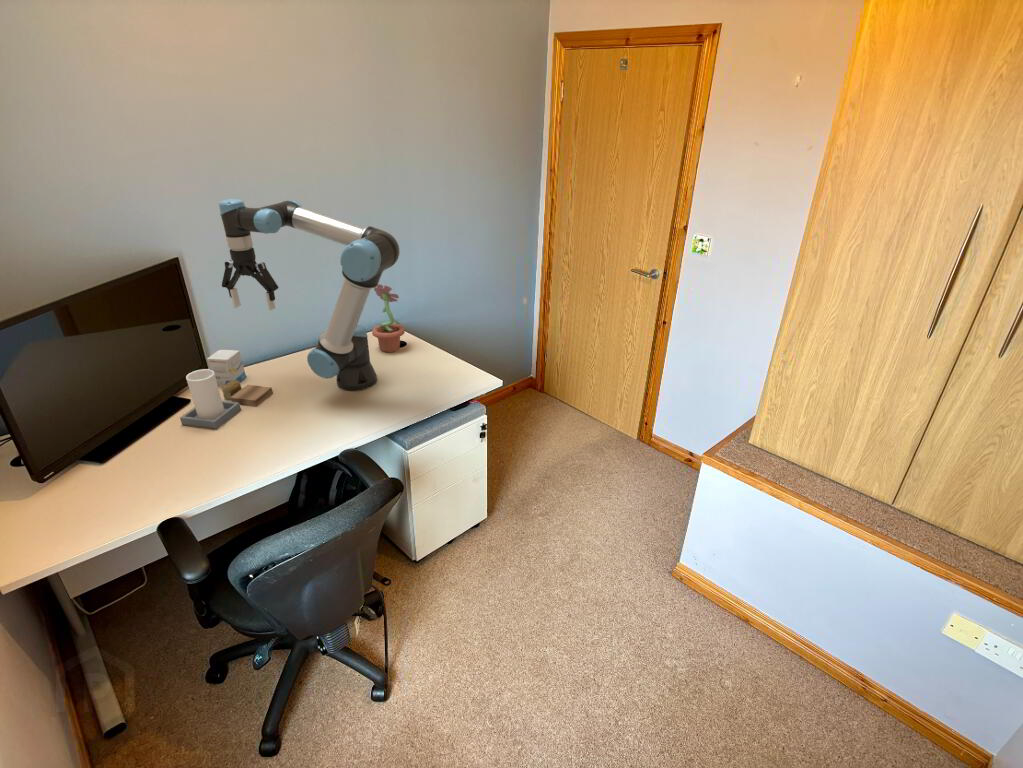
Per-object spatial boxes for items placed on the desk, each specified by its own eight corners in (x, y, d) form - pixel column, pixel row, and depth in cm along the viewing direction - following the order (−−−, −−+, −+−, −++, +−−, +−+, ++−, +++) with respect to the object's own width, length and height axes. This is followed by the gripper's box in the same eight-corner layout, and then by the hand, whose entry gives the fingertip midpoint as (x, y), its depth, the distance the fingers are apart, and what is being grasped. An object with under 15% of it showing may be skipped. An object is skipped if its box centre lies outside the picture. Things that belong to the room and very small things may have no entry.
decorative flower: (414, 346, 241) (409, 281, 227) (396, 358, 230) (389, 290, 216) (386, 340, 246) (379, 276, 232) (367, 351, 235) (359, 285, 221)
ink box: (246, 376, 213) (240, 350, 207) (235, 387, 206) (227, 359, 200) (226, 375, 214) (219, 348, 208) (213, 385, 206) (206, 358, 201)
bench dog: (242, 392, 202) (239, 380, 199) (232, 400, 197) (228, 388, 194) (235, 391, 202) (232, 379, 200) (224, 399, 197) (221, 387, 195)
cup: (230, 412, 188) (219, 371, 180) (212, 424, 181) (199, 382, 174) (212, 408, 190) (200, 367, 183) (193, 419, 184) (180, 378, 176)
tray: (241, 410, 191) (239, 402, 189) (216, 429, 179) (214, 422, 178) (208, 406, 193) (206, 398, 191) (182, 425, 182) (179, 417, 180)
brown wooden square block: (273, 394, 202) (271, 387, 200) (256, 407, 193) (255, 400, 192) (249, 391, 203) (247, 384, 202) (232, 404, 195) (230, 397, 193)
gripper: (281, 247, 183) (292, 306, 193) (215, 243, 187) (229, 301, 197) (268, 252, 176) (281, 314, 186) (200, 248, 180) (216, 308, 190)
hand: (254, 307), depth 191 cm, fingers open, 13 cm apart
